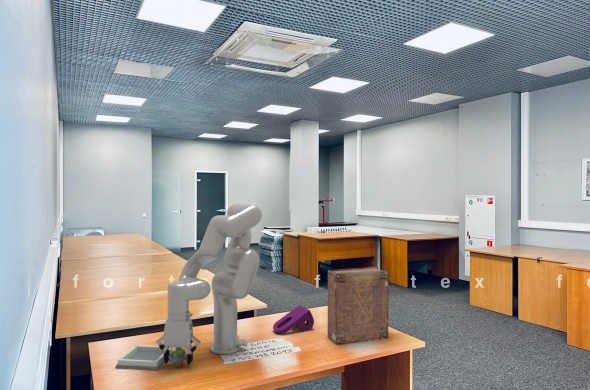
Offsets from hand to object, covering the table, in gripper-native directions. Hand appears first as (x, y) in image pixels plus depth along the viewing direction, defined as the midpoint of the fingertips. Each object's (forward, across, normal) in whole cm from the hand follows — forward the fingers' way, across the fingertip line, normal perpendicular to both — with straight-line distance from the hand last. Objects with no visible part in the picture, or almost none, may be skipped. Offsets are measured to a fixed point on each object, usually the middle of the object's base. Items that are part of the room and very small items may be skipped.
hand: (178, 362), depth 150 cm
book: (+2, -68, -36) cm, 77 cm away
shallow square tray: (+1, +14, -4) cm, 14 cm away
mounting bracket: (+2, -38, -43) cm, 57 cm away
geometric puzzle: (+2, 0, 0) cm, 2 cm away
